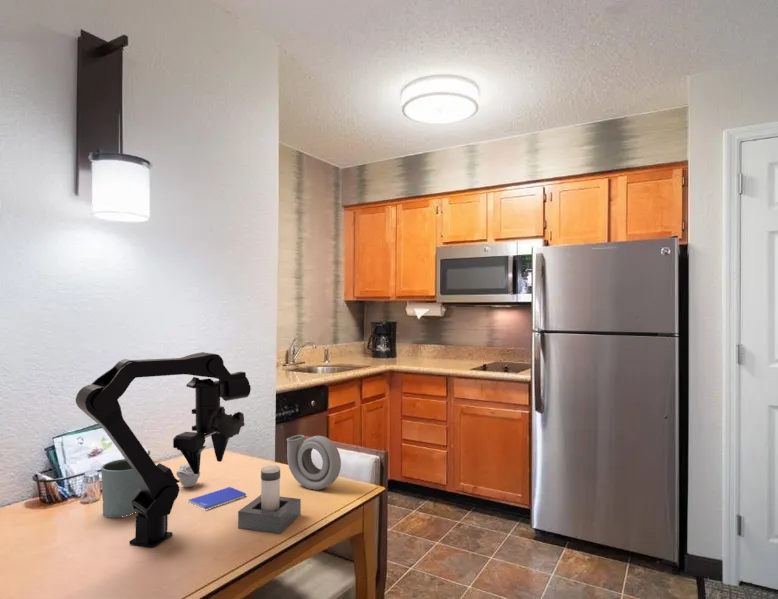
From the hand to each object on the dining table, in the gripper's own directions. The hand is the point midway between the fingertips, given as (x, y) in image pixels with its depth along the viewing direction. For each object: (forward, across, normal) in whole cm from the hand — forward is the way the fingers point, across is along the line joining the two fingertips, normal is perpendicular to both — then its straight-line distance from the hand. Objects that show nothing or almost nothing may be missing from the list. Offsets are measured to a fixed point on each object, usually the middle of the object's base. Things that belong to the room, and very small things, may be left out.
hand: (208, 467), depth 122 cm
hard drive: (+14, +12, +6) cm, 19 cm away
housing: (+13, +4, -15) cm, 20 cm away
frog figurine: (+13, +18, +19) cm, 29 cm away
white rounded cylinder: (+13, +4, -15) cm, 20 cm away
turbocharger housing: (+14, +28, -16) cm, 35 cm away
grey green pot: (+13, -1, +24) cm, 28 cm away
